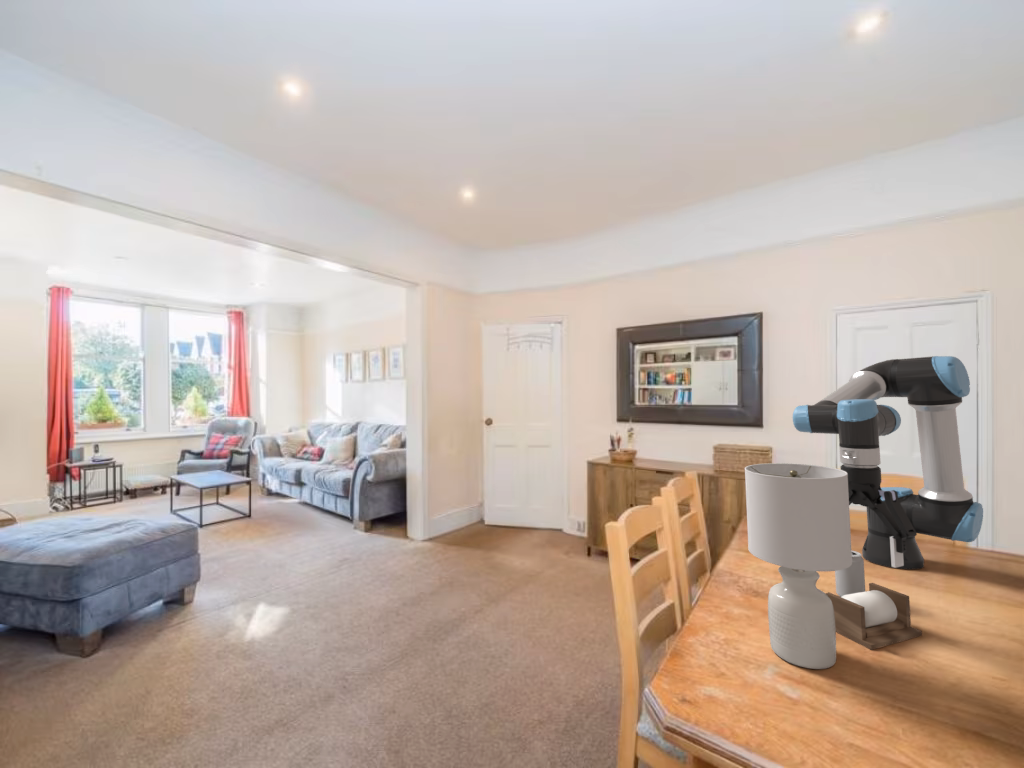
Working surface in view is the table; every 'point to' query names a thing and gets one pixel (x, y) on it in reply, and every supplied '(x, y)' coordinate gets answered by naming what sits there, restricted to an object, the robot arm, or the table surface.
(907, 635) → the holder
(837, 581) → the beverage can
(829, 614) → the lamp
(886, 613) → the cylinder
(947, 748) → the table surface
